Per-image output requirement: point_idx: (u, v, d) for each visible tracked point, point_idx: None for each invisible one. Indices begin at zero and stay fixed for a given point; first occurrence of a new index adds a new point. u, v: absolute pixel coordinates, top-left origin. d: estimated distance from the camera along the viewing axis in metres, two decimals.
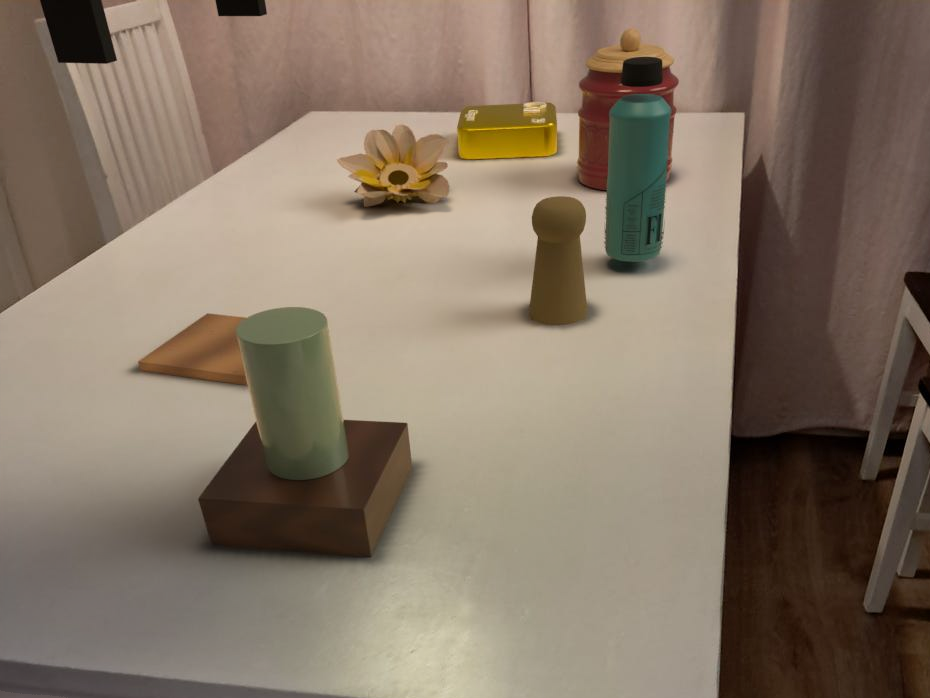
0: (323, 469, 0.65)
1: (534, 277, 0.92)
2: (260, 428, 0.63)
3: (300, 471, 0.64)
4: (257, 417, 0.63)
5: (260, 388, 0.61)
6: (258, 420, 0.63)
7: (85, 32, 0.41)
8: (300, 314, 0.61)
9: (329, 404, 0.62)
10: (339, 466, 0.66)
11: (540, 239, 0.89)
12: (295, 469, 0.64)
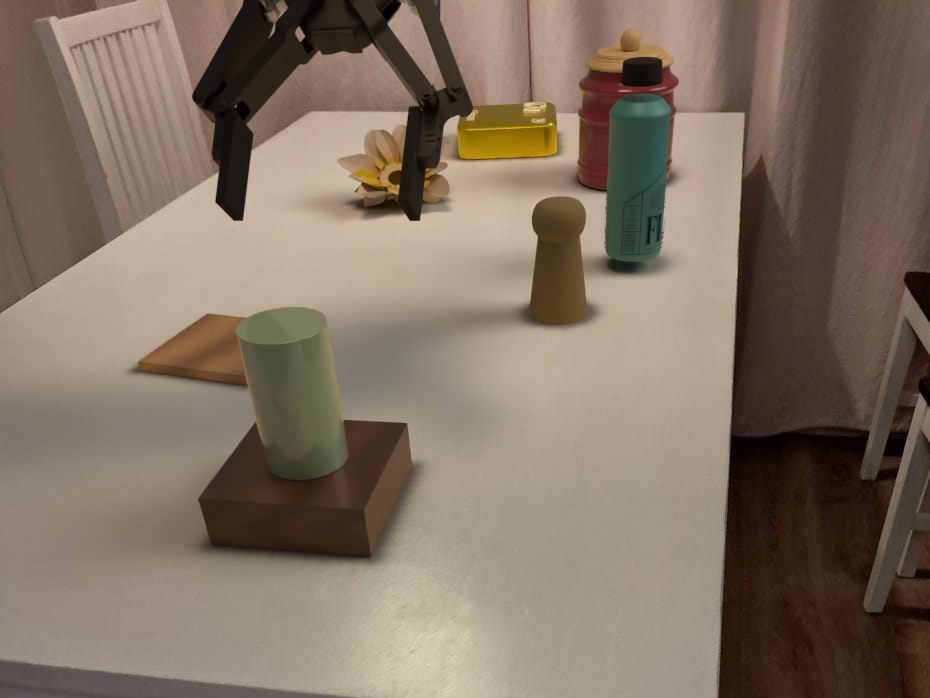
0: (323, 469, 0.65)
1: (534, 277, 0.92)
2: (260, 428, 0.63)
3: (300, 471, 0.64)
4: (257, 417, 0.63)
5: (260, 388, 0.61)
6: (258, 420, 0.63)
7: (419, 199, 0.64)
8: (300, 314, 0.61)
9: (329, 404, 0.62)
10: (339, 466, 0.66)
11: (540, 239, 0.89)
12: (295, 469, 0.64)
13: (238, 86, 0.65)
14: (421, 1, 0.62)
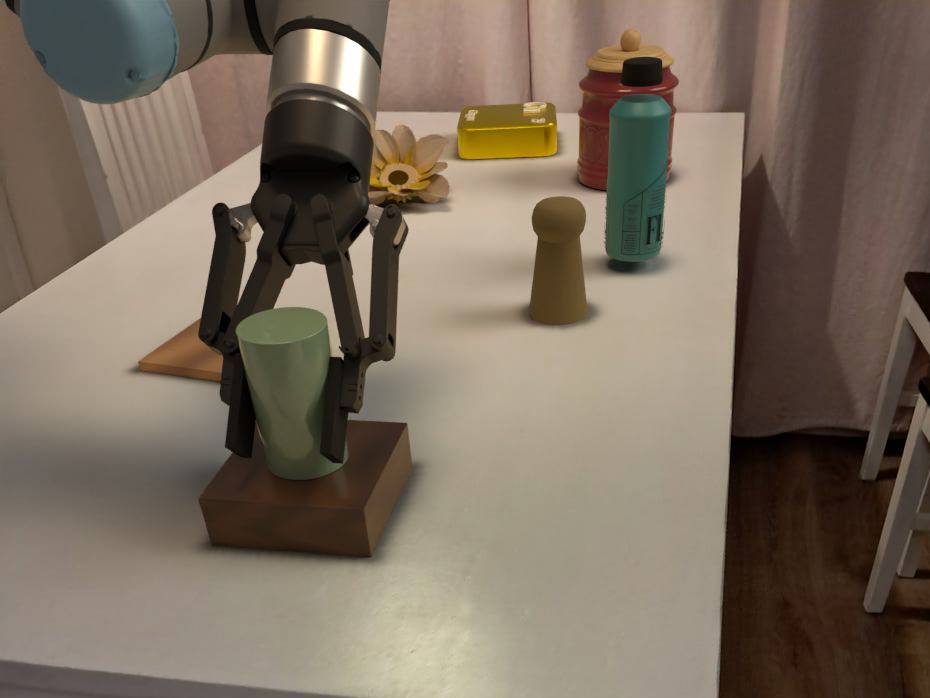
0: (323, 469, 0.65)
1: (534, 277, 0.92)
2: (260, 428, 0.63)
3: (300, 471, 0.64)
4: (257, 417, 0.63)
5: (260, 388, 0.61)
6: (258, 420, 0.63)
7: (341, 443, 0.63)
8: (300, 314, 0.61)
9: None
10: (339, 466, 0.66)
11: (540, 239, 0.89)
12: (295, 469, 0.64)
13: None
14: (379, 240, 0.61)
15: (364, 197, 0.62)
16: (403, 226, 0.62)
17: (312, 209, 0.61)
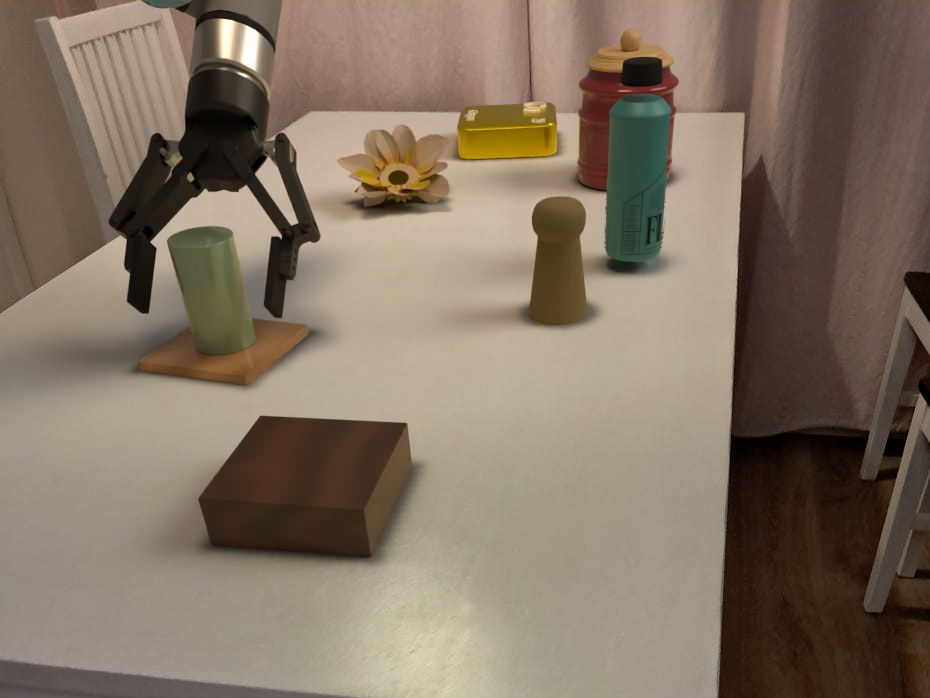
0: (234, 346, 0.88)
1: (534, 277, 0.92)
2: (187, 315, 0.87)
3: (217, 347, 0.88)
4: (185, 306, 0.87)
5: (184, 282, 0.84)
6: (185, 309, 0.87)
7: (280, 302, 0.86)
8: (215, 230, 0.85)
9: (236, 296, 0.86)
10: (247, 346, 0.89)
11: (540, 239, 0.89)
12: (213, 346, 0.88)
13: (144, 215, 0.87)
14: (280, 159, 0.85)
15: (259, 141, 0.85)
16: (292, 147, 0.86)
17: (223, 150, 0.85)
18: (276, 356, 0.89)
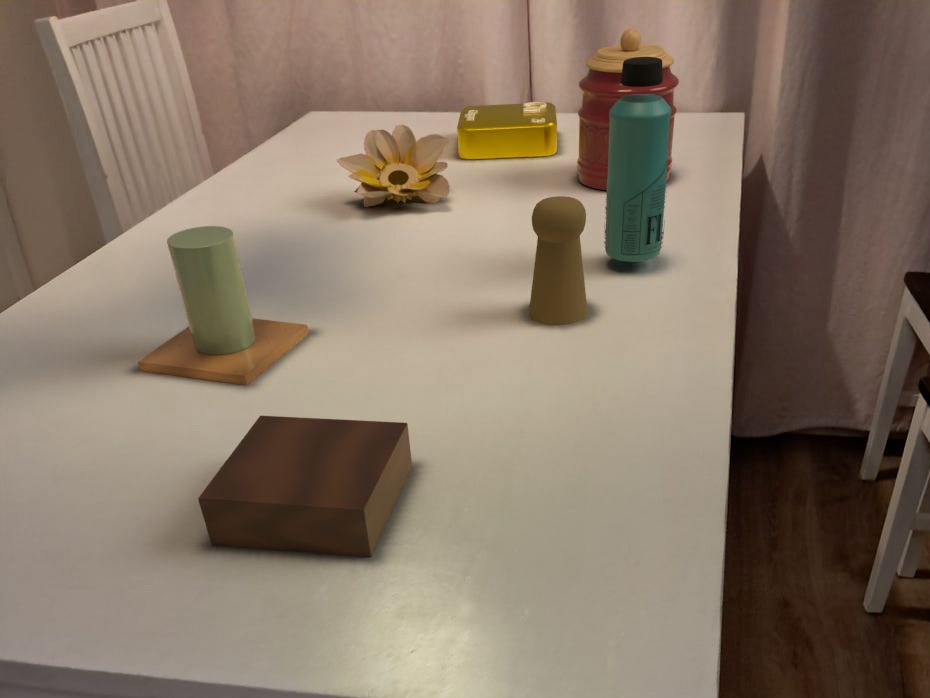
0: (234, 346, 0.88)
1: (534, 277, 0.92)
2: (187, 315, 0.87)
3: (217, 347, 0.88)
4: (185, 306, 0.87)
5: (184, 282, 0.84)
6: (185, 309, 0.87)
7: None
8: (215, 230, 0.85)
9: (236, 296, 0.86)
10: (247, 346, 0.89)
11: (540, 239, 0.89)
12: (213, 346, 0.88)
13: None
14: None
15: None
16: None
17: None
18: (276, 356, 0.89)
